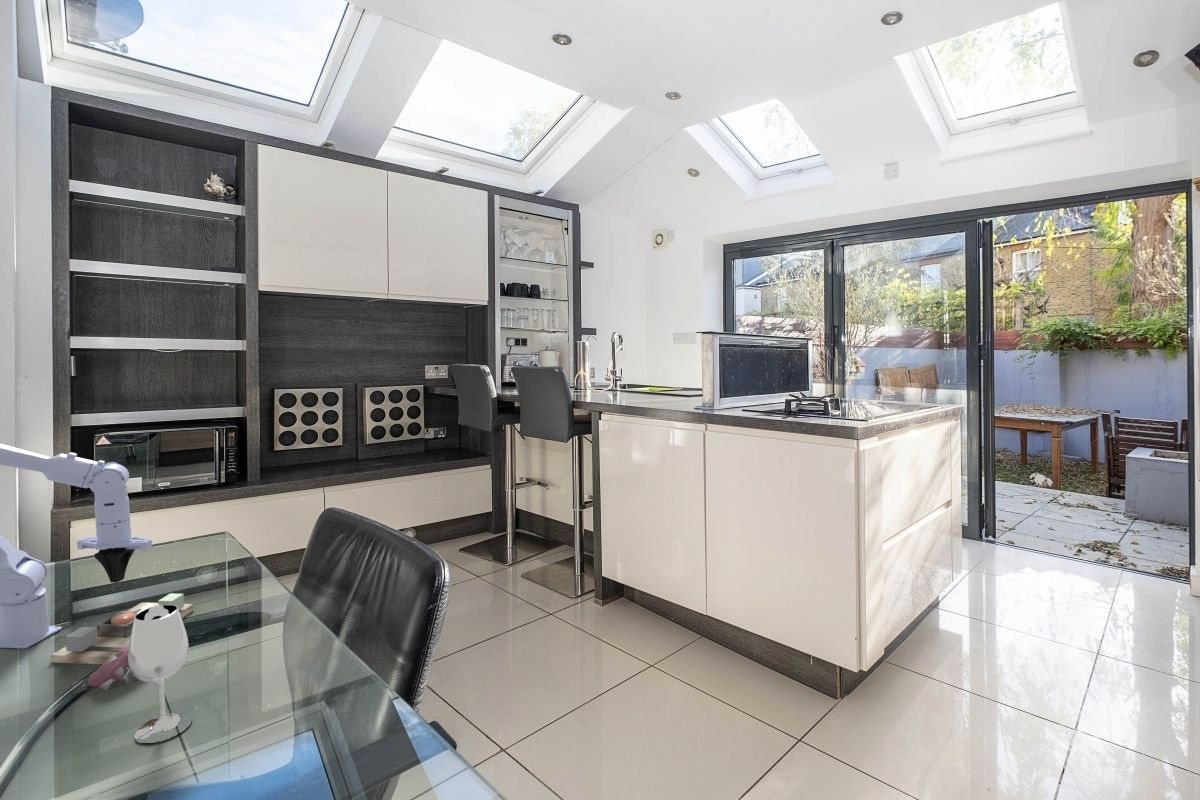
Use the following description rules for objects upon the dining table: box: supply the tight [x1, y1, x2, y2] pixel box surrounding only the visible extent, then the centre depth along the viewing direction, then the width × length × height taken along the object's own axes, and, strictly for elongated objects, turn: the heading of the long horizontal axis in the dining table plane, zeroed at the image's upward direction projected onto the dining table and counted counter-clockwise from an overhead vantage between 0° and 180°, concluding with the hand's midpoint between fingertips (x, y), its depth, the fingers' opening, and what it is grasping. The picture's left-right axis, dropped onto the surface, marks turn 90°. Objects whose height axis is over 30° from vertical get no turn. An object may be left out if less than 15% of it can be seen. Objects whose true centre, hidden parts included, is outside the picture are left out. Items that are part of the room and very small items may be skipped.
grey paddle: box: [64, 626, 98, 652], centre depth 114 cm, size 3×4×3 cm
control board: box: [50, 602, 195, 665], centre depth 123 cm, size 12×22×4 cm, turn 179°
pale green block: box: [157, 593, 185, 610], centre depth 129 cm, size 3×4×3 cm
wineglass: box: [127, 604, 190, 740], centre depth 94 cm, size 8×8×20 cm
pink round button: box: [111, 613, 136, 625], centre depth 122 cm, size 4×4×2 cm
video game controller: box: [87, 645, 129, 688], centre depth 109 cm, size 10×5×7 cm, turn 169°
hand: (117, 580), depth 127 cm, fingers closed
